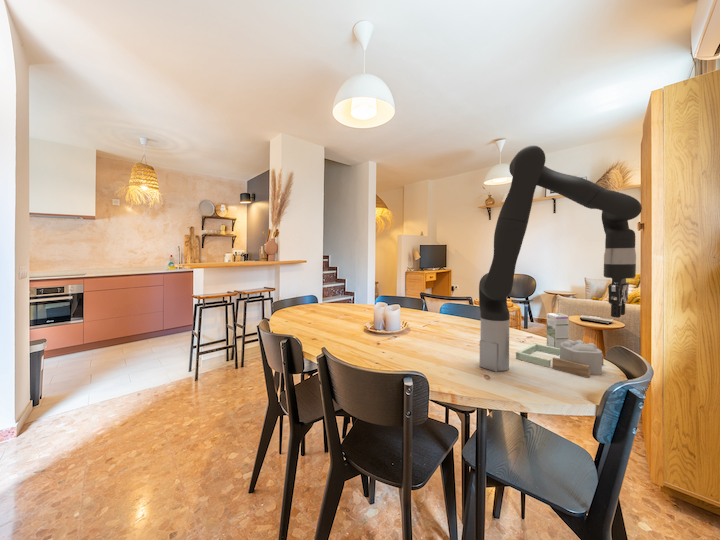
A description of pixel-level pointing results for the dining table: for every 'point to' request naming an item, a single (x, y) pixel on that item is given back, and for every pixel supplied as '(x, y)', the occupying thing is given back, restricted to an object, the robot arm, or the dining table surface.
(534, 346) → the green rectangular frame
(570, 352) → the lumpy-topped squat cylinder
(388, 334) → the dining table surface
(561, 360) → the chute
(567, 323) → the syrup box
